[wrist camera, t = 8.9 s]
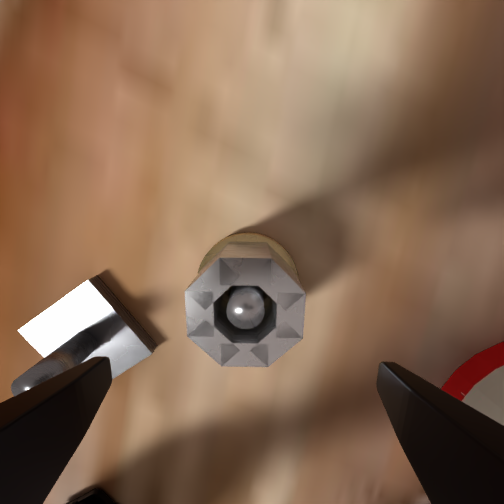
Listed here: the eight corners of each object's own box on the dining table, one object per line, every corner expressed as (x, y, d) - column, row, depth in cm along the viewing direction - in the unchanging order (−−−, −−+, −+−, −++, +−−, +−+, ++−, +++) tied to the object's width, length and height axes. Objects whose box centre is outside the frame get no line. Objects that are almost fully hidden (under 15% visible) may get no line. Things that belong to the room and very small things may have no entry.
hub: (313, 291, 17) (337, 328, 12) (236, 339, 18) (229, 390, 13) (261, 212, 16) (264, 218, 11) (181, 267, 17) (151, 294, 12)
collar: (289, 324, 17) (301, 367, 12) (205, 323, 17) (188, 365, 13) (293, 242, 15) (308, 258, 11) (202, 241, 16) (182, 256, 11)
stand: (157, 345, 18) (117, 405, 13) (92, 387, 19) (29, 459, 14) (97, 275, 17) (25, 309, 12) (30, 323, 18) (-65, 375, 13)
